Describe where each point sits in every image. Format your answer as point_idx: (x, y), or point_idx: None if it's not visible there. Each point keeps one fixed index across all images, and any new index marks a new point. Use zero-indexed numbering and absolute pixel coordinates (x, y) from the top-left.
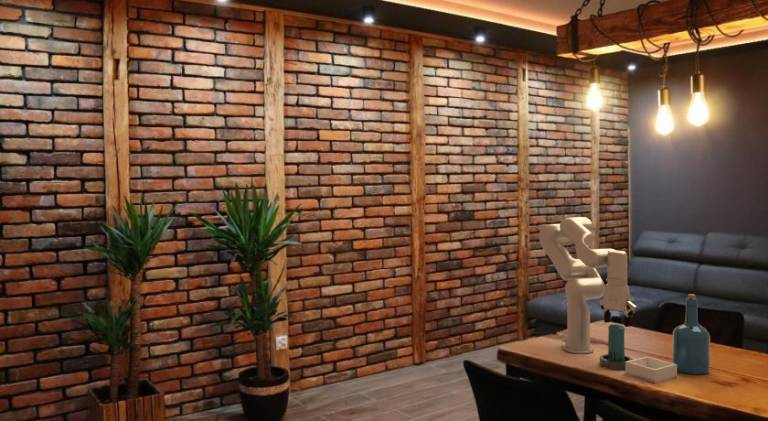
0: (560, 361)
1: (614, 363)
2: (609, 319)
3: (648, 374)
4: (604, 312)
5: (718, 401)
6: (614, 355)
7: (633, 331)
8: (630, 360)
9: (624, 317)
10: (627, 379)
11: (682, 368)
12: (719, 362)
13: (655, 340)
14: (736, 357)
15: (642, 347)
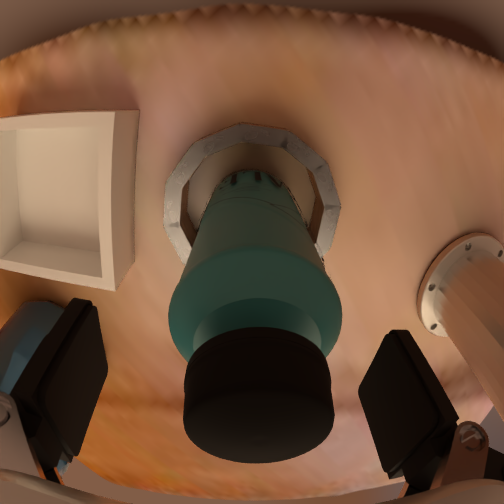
0: (459, 84)
1: (212, 134)
2: (373, 397)
3: (19, 115)
4: (459, 426)
5: None
6: (235, 178)
7: (369, 479)
8: (110, 155)
9: (45, 394)
10: (97, 60)
11: (35, 306)
12: (91, 428)
13: (301, 475)
14: (108, 461)
15: None
